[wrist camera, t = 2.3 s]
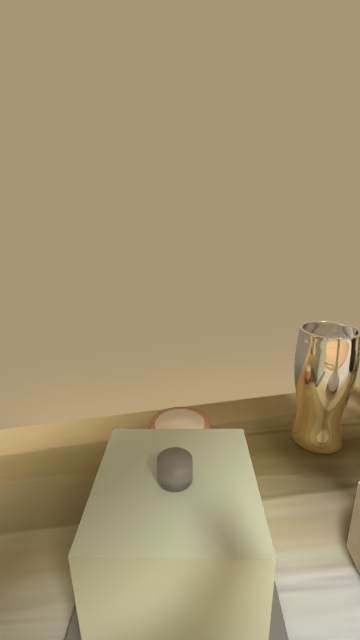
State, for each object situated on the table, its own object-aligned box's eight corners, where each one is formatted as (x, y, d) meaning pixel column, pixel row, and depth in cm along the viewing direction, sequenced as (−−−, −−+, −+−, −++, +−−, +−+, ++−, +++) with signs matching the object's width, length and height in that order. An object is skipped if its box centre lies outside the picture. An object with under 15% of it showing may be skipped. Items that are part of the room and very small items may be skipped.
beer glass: (280, 443, 42) (290, 332, 37) (295, 416, 47) (306, 316, 43) (340, 465, 38) (359, 344, 34) (349, 432, 44) (367, 325, 39)
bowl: (220, 452, 40) (221, 420, 39) (184, 487, 35) (183, 451, 34) (177, 430, 45) (176, 400, 43) (139, 458, 40) (137, 425, 38)
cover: (238, 520, 31) (243, 412, 27) (264, 678, 20) (278, 535, 17) (121, 519, 31) (111, 412, 28) (87, 674, 21) (64, 533, 17)
